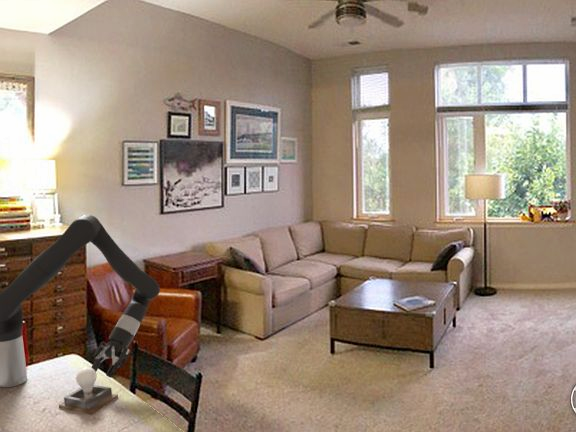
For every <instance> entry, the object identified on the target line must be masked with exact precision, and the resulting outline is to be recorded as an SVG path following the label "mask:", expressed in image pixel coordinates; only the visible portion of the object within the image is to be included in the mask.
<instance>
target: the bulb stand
mask: <svg viewBox="0 0 576 432" xmlns="http://www.w3.org/2000/svg"><path fill="white" fill-rule="evenodd" d="M92 395H93V397H92V398H91V399H89V400H86V399H84V392H83V390H82V388H81V387H80V388H78V389H77V390H75V391H73V392H71V393H69V394H68V395H66V396H64V397H63V402H61V403H60V404H58V409H62V410H67V411H73V412H77V413H80V414H81V413H82V414H86V415H90V416H92V415H93V414H95V413H96V412H98V411H99V410H101V409H103V408H105V407H106V406H107V405H108V404H110V403H112V402H115V400H116V399H118V398H119V395H118V394H116V393H113V391H112V388H111V387H107V386H103V385H96V384H94V385H93V389H92Z"/></svg>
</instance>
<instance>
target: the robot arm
mask: <svg viewBox="0 0 576 432" xmlns="http://www.w3.org/2000/svg"><path fill="white" fill-rule="evenodd" d="M90 243H92V244H93V245H94V246H95V247H96V248H97V249H98V250H99V252H101V254H102V255H103V256H104V258H105V260H106V262H107V263H108V265H109V266H110V267H111V269H112V270H113V272H115V273H116V275H117V276H119V277H120V279H122V280H123V281H124V283H126V284H128V285H132V286H133V288H135V290H134V292H133V294H132V296H131V299H130V301H129V304H128V305H127V307H126V308H125V310H124V312H122V313H123V314H122V315H121V316H120V317H119V319H118V321H117V323H116V324H115V326H114V328H113V329H112V330H111V333H110V334H109V336H108V338H109V341H108V342H107V343H106V342H105V341H101V342H100V343H99V345H98V347H97V348H96V350H95V352H94V353H93V355H92V357H93V358H94V359H95V360H94V362H93V364H92V365H91V366H90V368H93V369H94V370H95V371H96V372H97V371H98V370H99V368H100V366H101V364H102V363H103V362H104V361H105V360H108V359H111V360H112V363H111V365H110V366H109V368H108V370H107V372H106V374H105V376H106V377H108V378H109V379H110V378H112V377H113V376H114V375H115V372H116V371H117V370H118V368H120V367H122V368H123V367H125V364H126V363H127V361H128V359H129V356H130V354H131V352H132V351H131V349H129V346H130V345H131V343H132V341H133V339H134V338H135V335H136V334H137V332H138V330H139V328H140V325H141V324H142V321H143V319H144V318H145V316H146V314H147V310H148V309H147V307H148V306H149V304H150V303H151V301H152V300H153V299H155V298H157V297H158V296H159V294H160V291H161V288H160V284H159V283H158V281H156V280H155V278H153V277H152V276H150V275H149V274H148V273H146V271H144V270H142V269H141V268H140V267H139V266H138V265H137V264H136V263H135V262H134V261H133V260H132V259H131V258H130V257H129V256H128V254H126V253H125V251H123V249H122V248H121V247H119V245H118V244H117V243H116V242H115V240H114V239H113V238H112V237H111V236H110V234H109V233H108V231H107V230H106V229H105V227H104V226H103V224H102V223H101V221H100V220H99V219H98V218H97V217H96V216H94V215H92V214H83V215H81V216H78V218H76V219H74V220H73V221H72V222H71V223H70V225H68V227H67V229H66V230H65V231H64V232H63V233H62V235H60V237H59V238H58V239H57V240H56V241H55V242H53V244H51V245H50V246H48V247H47V248H46V249H45V250H43V251H42V252H40V253H39V254H38V255H37V256H36V257H35V258H33V260H32V261H30V263H29V264H28V265H27V266H25V268H24V269H23V270H22V271H21V272H20V273H19V274H18V275H17V276H16V277H15V279H14V280H13V281H12V282H11V283H10V284H9V285H8V286H7V287H6V288H5V289H3V290H2V291H1V292H0V388H12V387H17V386H20V385H22V384H24V383H26V381H27V380H28V374H27V365H26V356H25V355H26V354H25V348H24V347H25V346H24V340H23V327H24V318H23V317H24V316H23V315H24V314H23V307H22V306H23V305H22V303H24V301H25V300H26V299H28V298H29V297H31V296H32V295H34V294H35V293H37V292H38V291H39V290H40V289H42V288H44V287H45V286H46V285H47V284H48V283H50V282H51V281H52V280H53V279H54V278H55V277H56V276H57V275H58V274H59V273H60V272H61V271H62V269H64V267H65V266H66V265H67V263H68V261H70V258H71V257H72V256H73V255H75V254H76V253H77V252H78V251H80V250H81V249H82V248H83V247H85V246H86V245H87V244H90Z"/></svg>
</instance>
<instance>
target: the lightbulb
mask: <svg viewBox="0 0 576 432" xmlns="http://www.w3.org/2000/svg"><path fill="white" fill-rule="evenodd" d="M97 378H98V376H97V371H95V370H94V369H93V368H91V366H90V367H89V366H85V367H82V368H81V369H79V370H78V371H77V373H76V377H75V380H76V383H77V384H78V386H79V387H80V388H82V390H83V392H84V399H86V400H89V399H91V398H92V397H93V395H92V389H93V385H95V383H96V381H97Z"/></svg>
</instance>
